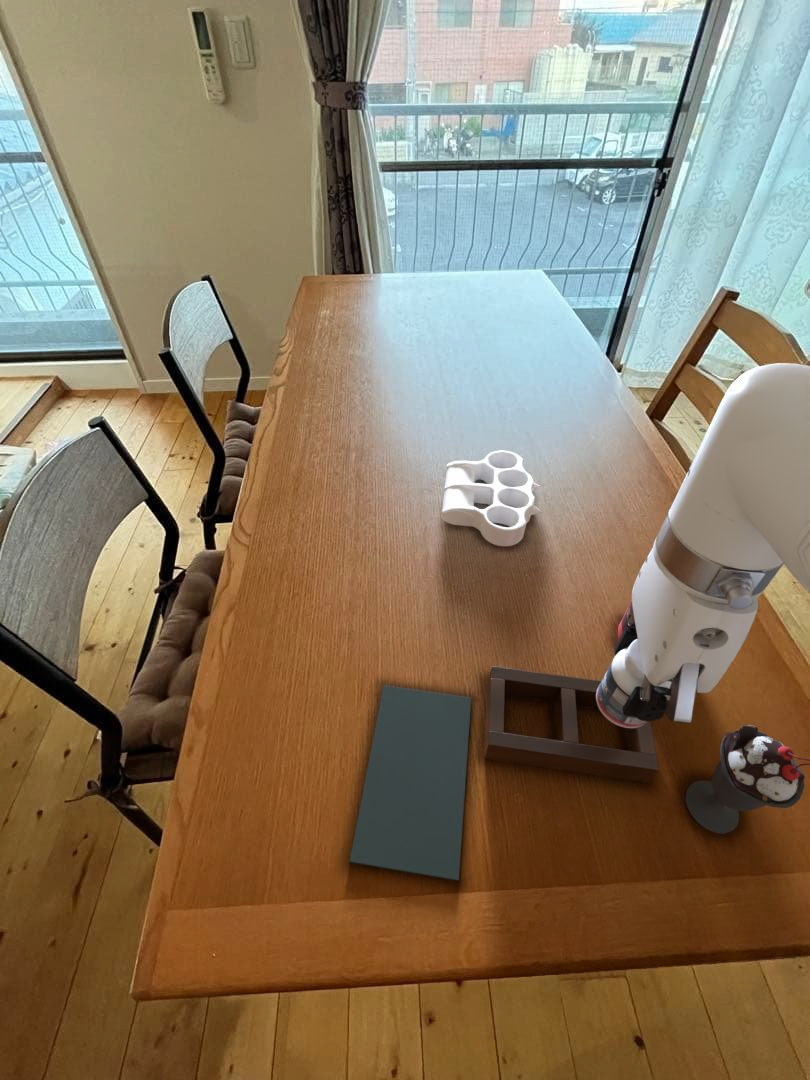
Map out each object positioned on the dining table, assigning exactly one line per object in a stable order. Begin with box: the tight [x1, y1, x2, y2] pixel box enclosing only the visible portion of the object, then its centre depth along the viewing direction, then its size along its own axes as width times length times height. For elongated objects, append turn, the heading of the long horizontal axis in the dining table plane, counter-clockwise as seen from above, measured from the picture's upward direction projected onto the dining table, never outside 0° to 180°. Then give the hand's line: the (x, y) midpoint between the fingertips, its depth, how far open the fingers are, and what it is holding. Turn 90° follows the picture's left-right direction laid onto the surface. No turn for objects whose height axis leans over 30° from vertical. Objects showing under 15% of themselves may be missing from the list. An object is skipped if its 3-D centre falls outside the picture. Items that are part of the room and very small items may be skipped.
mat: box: [349, 684, 472, 882], centre depth 56 cm, size 18×10×1 cm, turn 172°
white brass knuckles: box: [441, 450, 543, 547], centre depth 83 cm, size 3×18×15 cm
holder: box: [483, 665, 659, 784], centre depth 59 cm, size 9×16×4 cm, turn 82°
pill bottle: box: [596, 639, 672, 729], centre depth 50 cm, size 5×5×9 cm
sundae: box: [685, 724, 810, 834], centre depth 49 cm, size 7×7×15 cm
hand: (636, 683), depth 51 cm, fingers closed on pill bottle, 5 cm apart
